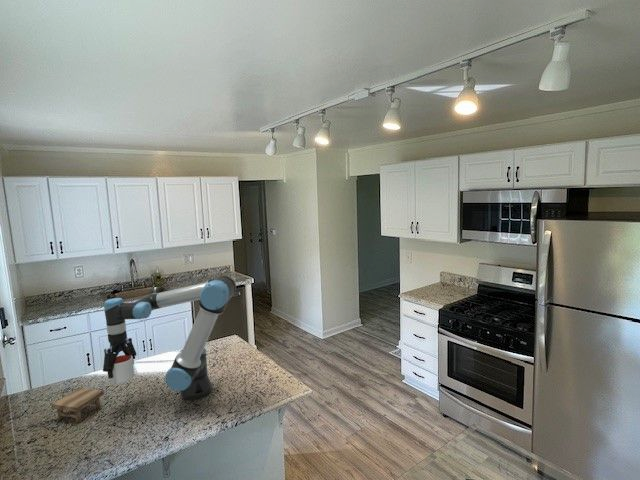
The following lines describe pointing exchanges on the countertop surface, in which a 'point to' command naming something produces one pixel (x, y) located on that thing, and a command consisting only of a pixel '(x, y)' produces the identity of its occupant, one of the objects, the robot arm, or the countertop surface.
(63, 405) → the stool
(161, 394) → the countertop surface
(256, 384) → the countertop surface
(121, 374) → the cup
